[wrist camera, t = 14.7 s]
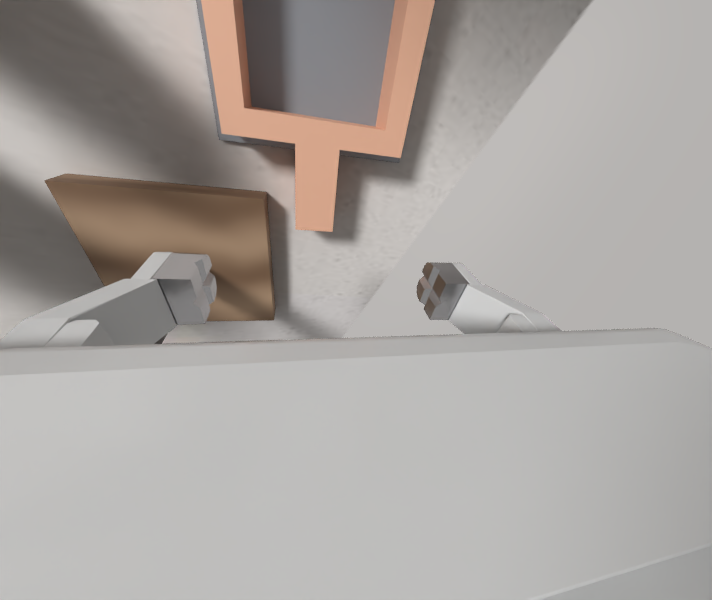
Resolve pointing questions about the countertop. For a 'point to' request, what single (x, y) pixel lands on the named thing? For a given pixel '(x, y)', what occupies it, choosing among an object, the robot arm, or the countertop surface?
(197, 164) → the countertop surface
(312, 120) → the frame
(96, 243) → the stand
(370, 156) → the mat
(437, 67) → the countertop surface
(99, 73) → the countertop surface
